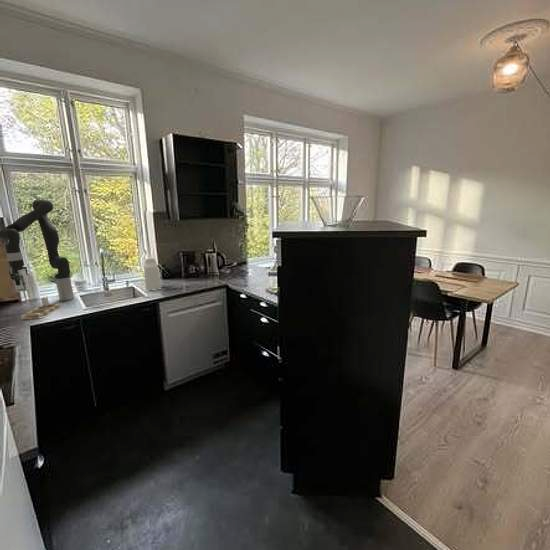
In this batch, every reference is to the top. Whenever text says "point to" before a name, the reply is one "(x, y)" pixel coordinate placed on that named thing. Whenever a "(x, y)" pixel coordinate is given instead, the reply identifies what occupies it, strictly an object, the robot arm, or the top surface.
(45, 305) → the steel pin
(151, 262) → the milk
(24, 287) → the syrup box
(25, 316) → the hole bar
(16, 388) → the top surface
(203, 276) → the top surface
